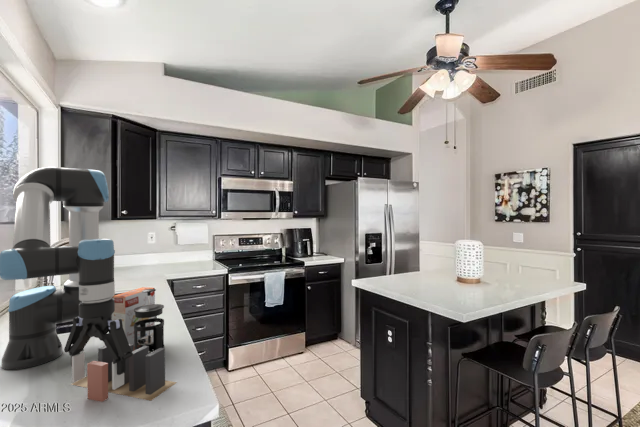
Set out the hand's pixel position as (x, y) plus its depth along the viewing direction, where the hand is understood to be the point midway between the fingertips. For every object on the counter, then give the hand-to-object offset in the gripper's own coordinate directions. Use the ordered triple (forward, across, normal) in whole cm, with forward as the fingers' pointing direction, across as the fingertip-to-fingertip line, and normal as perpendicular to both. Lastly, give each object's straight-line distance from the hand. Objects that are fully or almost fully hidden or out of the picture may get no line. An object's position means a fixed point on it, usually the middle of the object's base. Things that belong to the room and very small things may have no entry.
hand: (97, 383), depth 80 cm
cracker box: (+5, -18, +28) cm, 34 cm away
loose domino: (+5, 0, 0) cm, 5 cm away
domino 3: (+4, +5, +8) cm, 10 cm away
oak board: (+5, 0, +8) cm, 9 cm away
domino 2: (+4, 0, +8) cm, 9 cm away
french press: (+5, -7, +24) cm, 25 cm away
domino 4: (+4, +11, +8) cm, 14 cm away
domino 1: (+4, -6, +8) cm, 10 cm away
